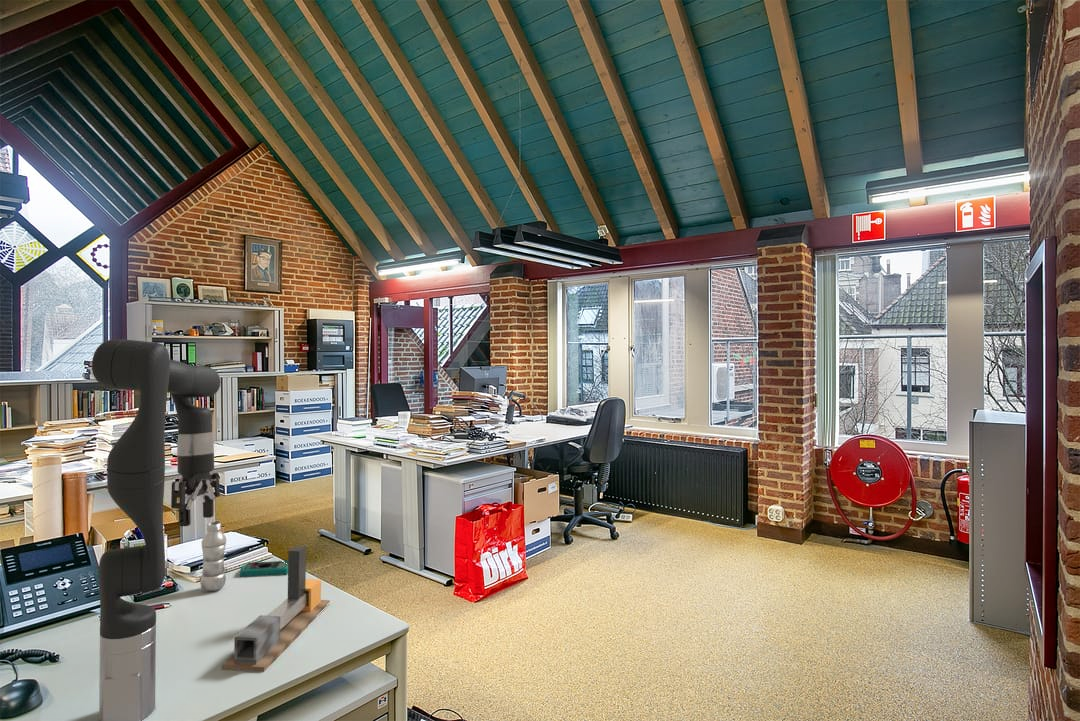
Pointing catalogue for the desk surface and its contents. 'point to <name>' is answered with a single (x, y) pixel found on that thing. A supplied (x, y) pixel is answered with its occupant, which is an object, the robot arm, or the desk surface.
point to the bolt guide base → (267, 640)
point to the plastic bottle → (213, 558)
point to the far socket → (313, 593)
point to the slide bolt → (294, 587)
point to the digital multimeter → (264, 568)
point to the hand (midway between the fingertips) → (197, 521)
